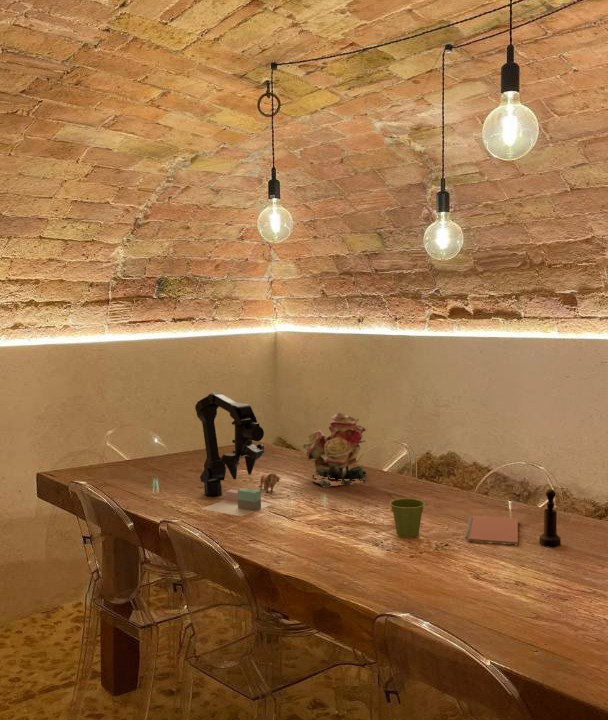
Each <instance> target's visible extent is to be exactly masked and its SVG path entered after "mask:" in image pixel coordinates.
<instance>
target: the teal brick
mask: <svg viewBox="0 0 608 720" xmlns="http://www.w3.org/2000/svg"><path fill="white" fill-rule="evenodd" d="M237 490H238V499H239V500H245V501H251V502H256V501H259V500H261V501H262V496H261V495H262V494H261V493H262V490H259V489H252V488H245V487H243V488H240V489H237Z"/></svg>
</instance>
